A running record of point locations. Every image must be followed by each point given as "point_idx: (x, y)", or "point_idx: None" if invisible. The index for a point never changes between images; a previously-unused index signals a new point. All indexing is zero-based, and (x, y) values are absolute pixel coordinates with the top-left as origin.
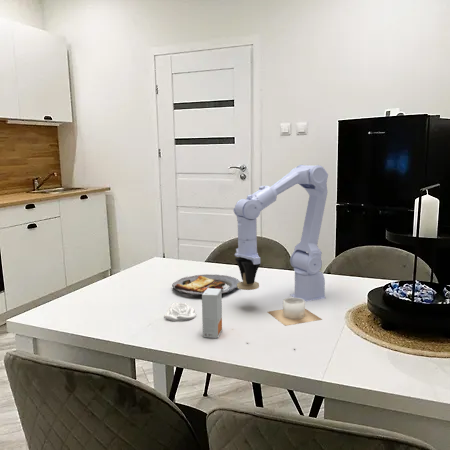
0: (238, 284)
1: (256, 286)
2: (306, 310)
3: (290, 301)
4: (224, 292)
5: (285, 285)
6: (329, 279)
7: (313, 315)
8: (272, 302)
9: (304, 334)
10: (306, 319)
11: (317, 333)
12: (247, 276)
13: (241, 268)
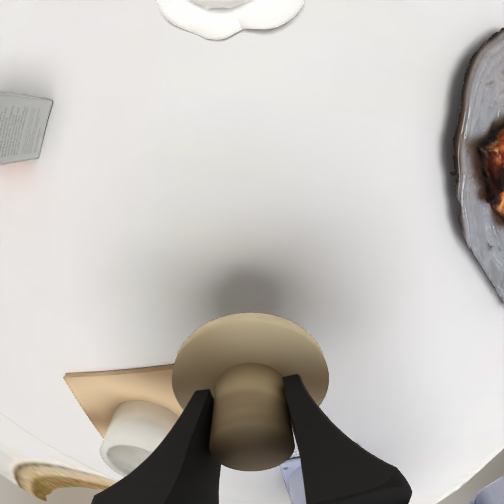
0: (256, 332)
1: None
2: None
3: (131, 456)
4: (463, 227)
5: (451, 430)
6: (426, 496)
7: None
8: None
9: (35, 395)
10: None
11: (47, 419)
12: (174, 433)
13: (300, 448)
